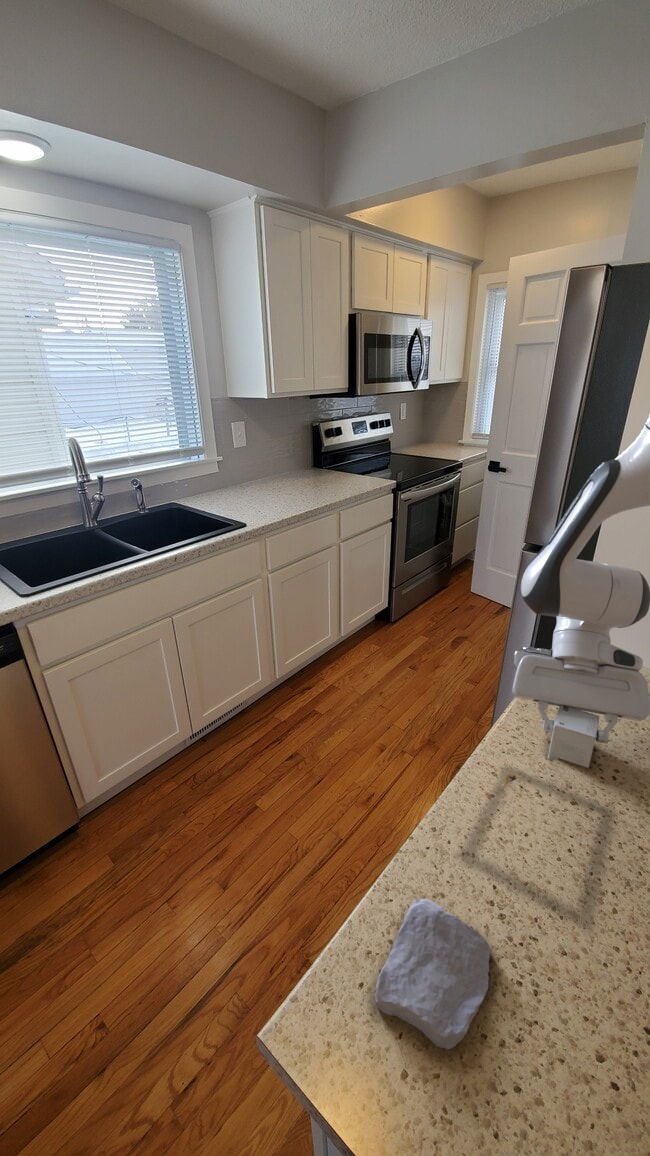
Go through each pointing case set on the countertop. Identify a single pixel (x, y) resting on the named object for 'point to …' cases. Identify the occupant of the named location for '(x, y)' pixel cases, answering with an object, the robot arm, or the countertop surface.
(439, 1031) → the stone block
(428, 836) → the countertop surface
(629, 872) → the countertop surface
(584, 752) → the product carton
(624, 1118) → the countertop surface
